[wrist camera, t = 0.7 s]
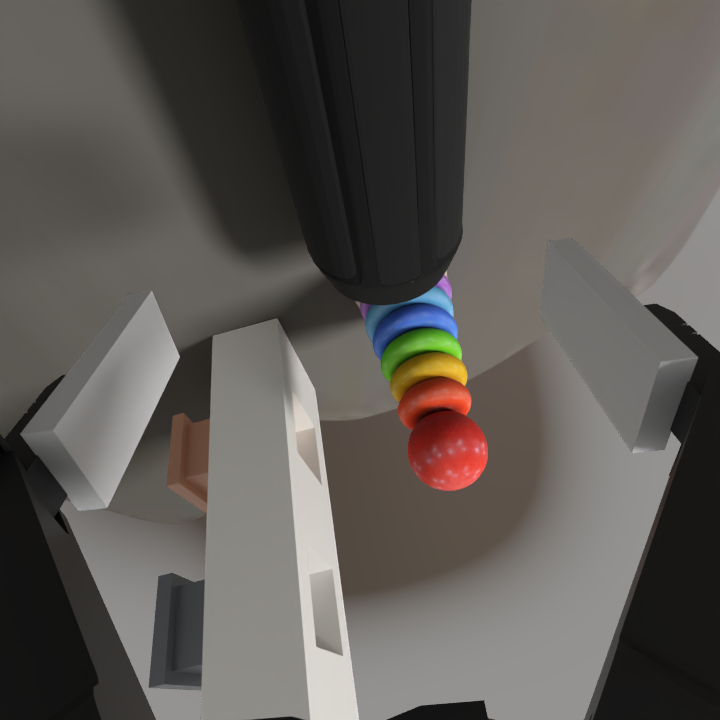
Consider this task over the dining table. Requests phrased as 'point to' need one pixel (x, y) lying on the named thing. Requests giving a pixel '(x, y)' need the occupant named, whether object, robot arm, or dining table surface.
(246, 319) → the dining table surface
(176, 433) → the lower button
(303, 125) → the portable speaker
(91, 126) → the dining table surface
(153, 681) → the upper button
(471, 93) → the dining table surface
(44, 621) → the robot arm
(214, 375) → the button panel
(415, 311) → the stacking toy
